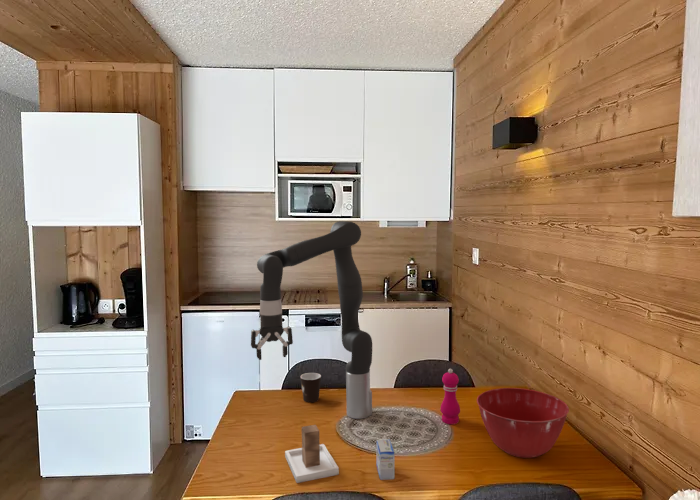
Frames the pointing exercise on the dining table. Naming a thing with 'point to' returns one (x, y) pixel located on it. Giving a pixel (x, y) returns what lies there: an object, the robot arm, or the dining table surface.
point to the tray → (311, 473)
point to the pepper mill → (450, 398)
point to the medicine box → (385, 459)
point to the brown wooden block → (310, 446)
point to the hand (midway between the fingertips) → (272, 357)
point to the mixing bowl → (522, 420)
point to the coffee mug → (310, 386)
